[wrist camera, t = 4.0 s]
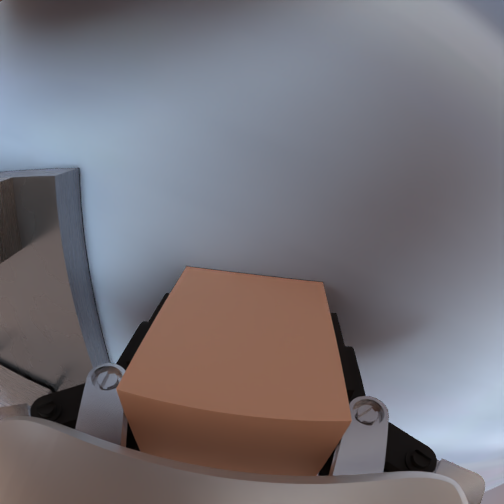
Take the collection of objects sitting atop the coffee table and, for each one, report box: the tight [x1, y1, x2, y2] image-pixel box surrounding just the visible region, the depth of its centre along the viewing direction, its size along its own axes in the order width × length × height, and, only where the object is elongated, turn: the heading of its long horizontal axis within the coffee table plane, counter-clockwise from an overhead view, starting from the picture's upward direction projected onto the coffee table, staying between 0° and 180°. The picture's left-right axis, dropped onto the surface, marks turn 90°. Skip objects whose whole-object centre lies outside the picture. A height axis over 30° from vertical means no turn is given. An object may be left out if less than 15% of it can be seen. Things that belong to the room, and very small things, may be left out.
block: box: [116, 266, 352, 476], centre depth 9 cm, size 5×5×6 cm
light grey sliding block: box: [0, 365, 52, 407], centre depth 12 cm, size 5×6×4 cm
